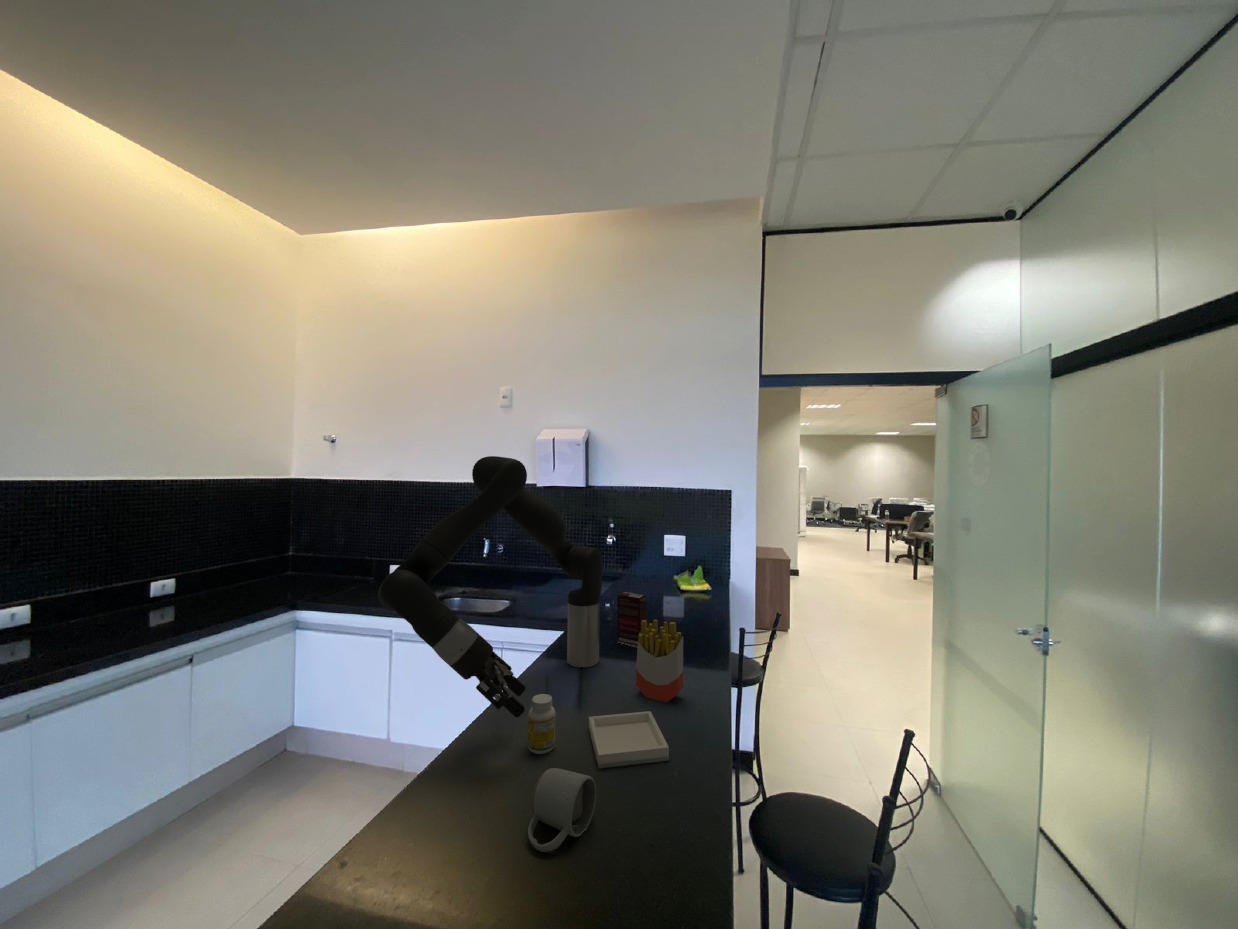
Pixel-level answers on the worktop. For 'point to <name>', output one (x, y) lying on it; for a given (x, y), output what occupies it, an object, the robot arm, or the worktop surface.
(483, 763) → the worktop surface
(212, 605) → the worktop surface
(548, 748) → the supplement bottle
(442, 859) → the worktop surface
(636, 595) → the supplement box
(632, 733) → the tray
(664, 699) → the french fries container
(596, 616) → the robot arm
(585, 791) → the ceramic mug
